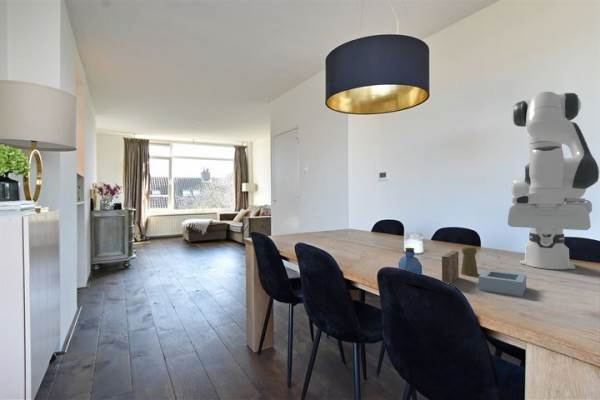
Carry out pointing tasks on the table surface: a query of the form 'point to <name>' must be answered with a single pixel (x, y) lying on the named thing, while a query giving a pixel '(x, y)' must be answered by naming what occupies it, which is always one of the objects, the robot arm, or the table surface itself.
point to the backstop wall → (450, 267)
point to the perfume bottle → (410, 262)
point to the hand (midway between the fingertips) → (546, 243)
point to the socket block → (503, 282)
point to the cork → (469, 261)
